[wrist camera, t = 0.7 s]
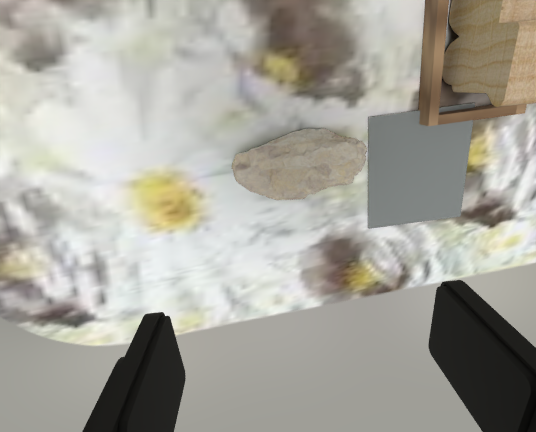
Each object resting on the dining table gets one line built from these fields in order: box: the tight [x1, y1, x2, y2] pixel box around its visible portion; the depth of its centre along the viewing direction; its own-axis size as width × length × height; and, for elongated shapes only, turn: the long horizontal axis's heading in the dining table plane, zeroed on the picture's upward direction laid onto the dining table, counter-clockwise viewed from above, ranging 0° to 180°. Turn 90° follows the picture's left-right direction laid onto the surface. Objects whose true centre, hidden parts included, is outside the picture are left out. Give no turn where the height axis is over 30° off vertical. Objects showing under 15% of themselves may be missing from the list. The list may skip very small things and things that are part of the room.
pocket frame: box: [418, 0, 527, 126], centre depth 30 cm, size 21×10×2 cm, turn 7°
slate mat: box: [368, 103, 475, 229], centre depth 37 cm, size 14×12×1 cm
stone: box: [232, 128, 367, 200], centre depth 33 cm, size 8×12×10 cm, turn 97°
